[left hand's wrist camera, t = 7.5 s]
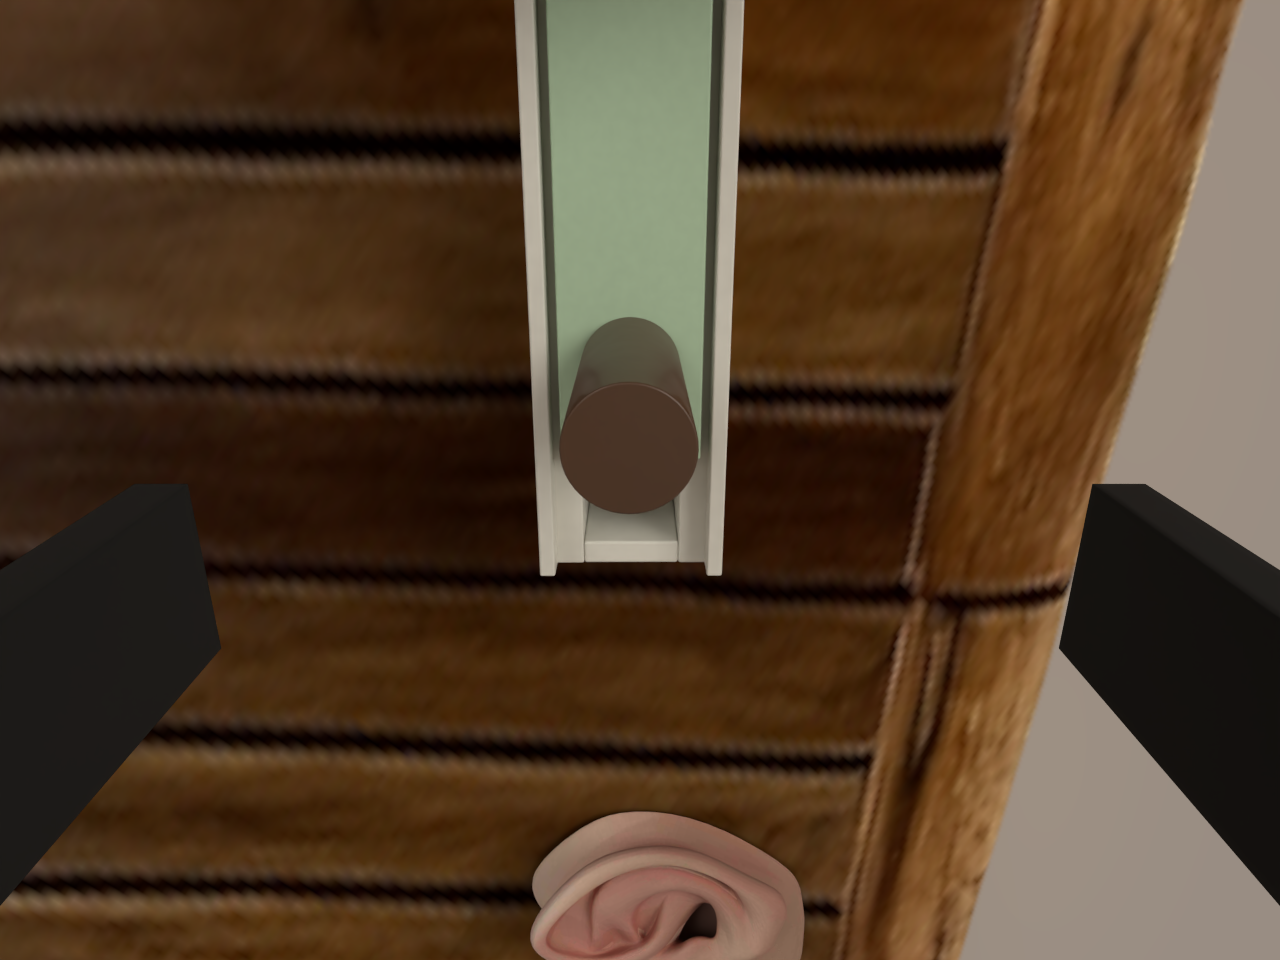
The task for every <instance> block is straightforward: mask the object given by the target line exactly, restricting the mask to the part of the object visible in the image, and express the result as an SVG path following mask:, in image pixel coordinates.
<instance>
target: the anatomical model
mask: <svg viewBox="0 0 1280 960" xmlns="http://www.w3.org/2000/svg"><path fill="white" fill-rule="evenodd" d="M532 888H533V892H534V896H535V898H536V900H537V902H538V904H539V906H540V907H541V908H542V909H541V911H540V912H539V914H538V915H537V917H536V919H535V921H534V923H533V926H532V929H531V943H532V946H533V948H534V950H535V951H536V952H537V953H538V954H539V955H540V956H542V957H543V958H545V959H546V960H800V958H801V954H802V947H803V935H804V910H803V902H802V895H801V890H800V887H799V884H798V882H797V880H796V878H795V877H794V875H793V874H792V873H791V872H790V871H789V870H788V869H787V868H786V867H784V866H783V865H782V864H781V863H779V862H778V861H777V860H775V859H774V858H772V857H771V856H769V855H768V854H766V853H764V852H763V851H761V850H759V849H758V848H756V847H754V846H752V845H751V844H749V843H747V842H745V841H743V840H742V839H740V838H738V837H736V836H734V835H732V834H730V833H728V832H726V831H723V830H721V829H718V828H716V827H714V826H711V825H709V824H706V823H703V822H700V821H697V820H694V819H690V818H687V817H682V816H678V815H673V814H666V813H659V812H625V813H618V814H613V815H609V816H606V817H603V818H600V819H598V820H596V821H593V822H592V823H590V824H588V825H586V826H584V827H582V828H581V829H579V830H578V831H576V832H575V833H574V834H572V835H571V836H569V837H568V838H567V839H565V840H564V841H563V842H562V843H560V844H559V845H558V846H557V847H556V848H555V849H553V850H552V851H551V852H550V853H549V854H548V856H547V857H546V858H545V859H544V860H543V861H542V862H541V864H540V865H539V866H538V868H537V870H536V872H535V874H534V877H533V883H532Z"/></svg>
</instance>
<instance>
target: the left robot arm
mask: <svg viewBox="0 0 1280 960" xmlns="http://www.w3.org/2000/svg"><path fill="white" fill-rule="evenodd" d="M220 649H221V645H220V640H219V635H218V631H217V626H216V621H215V616H214V611H213V606H212V601H211V596H210V591H209V587H208V582H207V577H206V572H205V567H204V562H203V557H202V552H201V547H200V543H199V538H198V533H197V528H196V523H195V518H194V513H193V508H192V504H191V499H190V494H189V489H188V484H134V485H132V486H131V487H129V488H128V489H126V490H125V491H123V492H121V493H120V494H118V495H117V496H115V497H114V498H112V499H111V500H109V501H107V502H106V503H104V504H103V505H101V506H100V507H98V508H97V509H95V510H93V511H92V512H90V513H89V514H87V515H86V516H84V517H82V518H81V519H79V520H78V521H76V522H75V523H73V524H72V525H70V526H68V527H67V528H65V529H64V530H62V531H61V532H59V533H58V534H56V535H54V536H53V537H51V538H50V539H48V540H47V541H45V542H43V543H42V544H40V545H39V546H37V547H36V548H34V549H33V550H31V551H29V552H28V553H26V554H25V555H23V556H22V557H20V558H19V559H17V560H15V561H14V562H12V563H11V564H9V565H8V566H6V567H4V568H3V569H1V570H0V905H1V904H2V903H3V902H4V901H5V899H6V898H7V897H8V896H9V895H10V894H11V892H12V891H13V890H14V889H15V888H16V887H17V885H18V884H19V883H20V882H21V881H22V880H23V878H24V877H25V876H26V875H27V874H28V873H29V871H30V870H31V869H32V868H33V867H34V866H35V864H36V863H37V862H38V861H39V860H40V859H41V858H42V856H43V855H44V854H45V853H46V852H47V851H48V849H49V848H50V847H51V846H52V845H53V844H54V842H55V841H56V840H57V839H58V838H59V837H60V835H61V834H62V833H63V832H64V831H65V830H66V828H67V827H68V826H69V825H70V824H71V823H72V821H73V820H74V819H75V818H76V817H77V816H78V814H79V813H80V812H81V811H82V810H83V809H84V807H85V806H86V805H87V804H88V803H89V802H90V800H91V799H92V798H93V797H94V796H95V795H96V793H97V792H98V791H99V790H100V789H101V788H102V786H103V785H104V784H105V783H106V782H107V781H108V779H109V778H110V777H111V776H112V775H113V774H114V772H115V771H116V770H117V769H118V768H119V767H120V765H121V764H122V763H123V762H124V761H125V760H126V758H127V757H128V756H129V755H130V754H131V753H132V751H133V750H134V749H135V748H136V747H137V746H138V744H139V743H140V742H141V741H142V740H143V739H144V737H145V736H146V735H147V734H148V733H149V732H150V731H151V729H152V728H153V727H154V726H155V725H156V724H157V722H158V721H159V720H160V719H161V718H162V717H163V715H164V714H165V713H166V712H167V711H168V710H169V708H170V707H171V706H172V705H173V704H174V703H175V701H176V700H177V699H178V698H179V697H180V696H181V694H182V693H183V692H184V691H185V690H186V689H187V687H188V686H189V685H190V684H191V683H192V682H193V680H194V679H195V678H196V677H197V676H198V675H199V673H200V672H201V671H202V670H203V669H204V668H205V666H206V665H207V664H208V663H209V662H210V661H211V659H212V658H213V657H214V656H215V655H216V654H217V652H218V651H219V650H220ZM1059 649H1060V650H1061V651H1062V652H1063V654H1064V655H1065V656H1066V657H1067V658H1068V659H1069V661H1070V662H1071V663H1072V664H1073V665H1074V666H1075V668H1076V669H1077V670H1078V671H1079V672H1080V673H1081V675H1082V676H1083V677H1084V678H1085V679H1086V680H1087V682H1088V683H1089V684H1090V685H1091V686H1092V687H1093V689H1094V690H1095V691H1096V692H1097V693H1098V694H1099V696H1100V697H1101V698H1102V699H1103V700H1104V701H1105V703H1106V704H1107V705H1108V706H1109V707H1110V708H1111V710H1112V711H1113V712H1114V713H1115V714H1116V715H1117V717H1118V718H1119V719H1120V720H1121V721H1122V722H1123V723H1124V725H1125V726H1126V727H1127V728H1128V729H1129V731H1130V732H1131V733H1132V734H1133V735H1134V736H1135V737H1136V739H1137V740H1138V741H1139V742H1140V743H1141V744H1142V746H1143V747H1144V748H1145V749H1146V750H1147V751H1148V753H1149V754H1150V755H1151V756H1152V757H1153V758H1154V760H1155V761H1156V762H1157V763H1158V764H1159V765H1160V767H1161V768H1162V769H1163V770H1164V771H1165V772H1166V774H1167V775H1168V776H1169V777H1170V778H1171V779H1172V781H1173V782H1174V783H1175V784H1176V785H1177V786H1178V788H1179V789H1180V790H1181V791H1182V792H1183V793H1184V795H1185V796H1186V797H1187V798H1188V799H1189V800H1190V802H1191V803H1192V804H1193V805H1194V806H1195V807H1196V809H1197V810H1198V811H1199V812H1200V813H1201V814H1202V816H1203V817H1204V818H1205V819H1206V820H1207V821H1208V823H1209V824H1210V825H1211V826H1212V827H1213V828H1214V830H1215V831H1216V832H1217V833H1218V834H1219V835H1220V837H1221V838H1222V839H1223V840H1224V841H1225V842H1226V844H1227V845H1228V846H1229V847H1230V848H1231V849H1232V851H1233V852H1234V853H1235V854H1236V855H1237V856H1238V857H1239V859H1240V860H1241V861H1242V862H1243V863H1244V864H1245V866H1246V867H1247V868H1248V869H1249V870H1250V871H1251V873H1252V874H1253V875H1254V876H1255V877H1256V878H1257V880H1258V881H1259V882H1260V883H1261V884H1262V885H1263V887H1264V888H1265V889H1266V890H1267V891H1268V892H1269V894H1270V895H1271V896H1272V897H1273V898H1274V899H1275V901H1276V902H1277V903H1278V904H1279V905H1280V570H1279V569H1277V568H1276V567H1274V566H1272V565H1271V564H1269V563H1268V562H1266V561H1265V560H1263V559H1261V558H1260V557H1258V556H1257V555H1255V554H1254V553H1252V552H1251V551H1249V550H1247V549H1246V548H1244V547H1243V546H1241V545H1240V544H1238V543H1237V542H1235V541H1233V540H1232V539H1230V538H1229V537H1227V536H1226V535H1224V534H1222V533H1221V532H1219V531H1218V530H1216V529H1215V528H1213V527H1212V526H1210V525H1208V524H1207V523H1205V522H1204V521H1202V520H1201V519H1199V518H1197V517H1196V516H1194V515H1193V514H1191V513H1190V512H1188V511H1187V510H1185V509H1183V508H1182V507H1180V506H1179V505H1177V504H1176V503H1174V502H1173V501H1171V500H1169V499H1168V498H1166V497H1165V496H1163V495H1162V494H1160V493H1158V492H1157V491H1155V490H1154V489H1152V488H1151V487H1149V486H1148V485H1146V484H1092V489H1091V494H1090V499H1089V504H1088V508H1087V513H1086V518H1085V523H1084V528H1083V533H1082V538H1081V543H1080V547H1079V552H1078V557H1077V562H1076V567H1075V572H1074V577H1073V582H1072V587H1071V591H1070V596H1069V601H1068V606H1067V611H1066V616H1065V621H1064V626H1063V631H1062V635H1061V640H1060V645H1059Z"/></svg>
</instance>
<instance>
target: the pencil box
mask: <svg viewBox="0 0 1280 960" xmlns="http://www.w3.org/2000/svg"><path fill="white" fill-rule="evenodd" d="M514 6H515V28H516V50H517V72H518V95H519V117H520V139H521V161H522V183H523V205H524V227H525V249H526V272H527V294H528V316H529V338H530V360H531V382H532V404H533V427H534V449H535V471H536V493H537V515H538V537H539V559H540V575H541V576H554V575H555V573H556V568H557V563H558V562H584V560H585V561H586V562H676V561H677V560H678V561H679V562H705V567H706V573H707V575H721V574H722V555H723V529H724V504H725V479H726V453H727V428H728V402H729V377H730V351H731V326H732V301H733V275H734V250H735V224H736V199H737V174H738V148H739V123H740V97H741V72H742V46H743V21H744V0H713V19H712V55H711V91H710V127H709V163H708V199H707V235H706V270H705V306H704V342H703V378H702V414H701V450H700V459H698V461H697V465H696V468H695V471H694V473H693V476H692V477H691V479H690V481H689V483H688V484H687V485H686V487H685V488H684V489H683V490H682V492H681V493H680V494H679V495H678V496H676V497H675V498H674V499H673V500H671V501H670V502H668V503H667V504H665V505H664V506H661V507H659V508H657V509H655V510H652V511H648V512H644V513H639V514H620V513H614V512H610V511H607V510H604V509H601V508H599V507H597V506H595V505H593V504H591V503H590V502H588V501H587V500H586V499H584V498H583V497H582V496H581V495H580V494H579V493H578V492H577V491H576V490H575V489H574V488H573V487H572V485H571V484H570V482H569V481H568V479H567V477H566V475H565V473H564V470H563V468H562V464H561V460H560V453H559V441H560V411H559V381H558V352H557V322H556V292H555V263H554V233H553V203H552V173H551V144H550V114H549V84H548V54H547V25H546V0H514Z"/></svg>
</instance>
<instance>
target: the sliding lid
mask: <svg viewBox="0 0 1280 960" xmlns="http://www.w3.org/2000/svg"><path fill="white" fill-rule="evenodd" d="M712 19H713V0H546V25H547V54H548V84H549V114H550V144H551V173H552V203H553V233H554V263H555V292H556V322H557V352H558V381H559V411H560V441H559V453H560V460H561V464H562V468H563V470H564V473H565V475H566V477H567V479H568V481H569V482H570V484H571V485H572V487H573V488H574V489H575V490H576V491H577V492H578V493H579V494H580V495H581V496H582V497H583V498H584V499H586V500H587V501H588V502H590V503H591V504H593V505H595V506H597V507H599V508H601V509H604V510H607V511H610V512H614V513H620V514H639V513H644V512H648V511H652V510H655V509H657V508H659V507H661V506H664V505H665V504H667V503H668V502H670V501H671V500H673V499H674V498H675V497H676V496H678V495H679V494H680V493H681V492H682V490H683V489H684V488H685V487H686V485H687V484H688V483H689V481H690V479H691V477H692V476H693V473H694V471H695V468H696V465H697V461H698V459H700V450H701V414H702V378H703V342H704V306H705V270H706V235H707V199H708V163H709V127H710V91H711V55H712Z"/></svg>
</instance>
